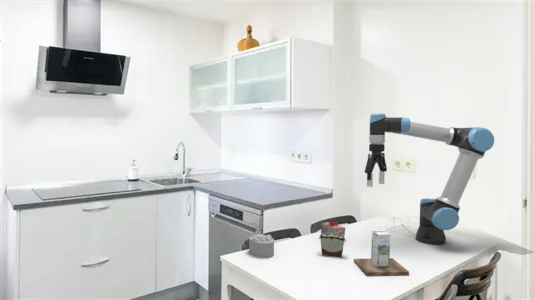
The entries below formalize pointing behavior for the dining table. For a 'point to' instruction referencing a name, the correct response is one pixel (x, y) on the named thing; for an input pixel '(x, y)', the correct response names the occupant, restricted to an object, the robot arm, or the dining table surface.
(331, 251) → the food container
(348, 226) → the dining table surface
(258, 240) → the lumpy-topped squat cylinder
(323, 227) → the food item
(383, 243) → the syrup box
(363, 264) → the walnut board
